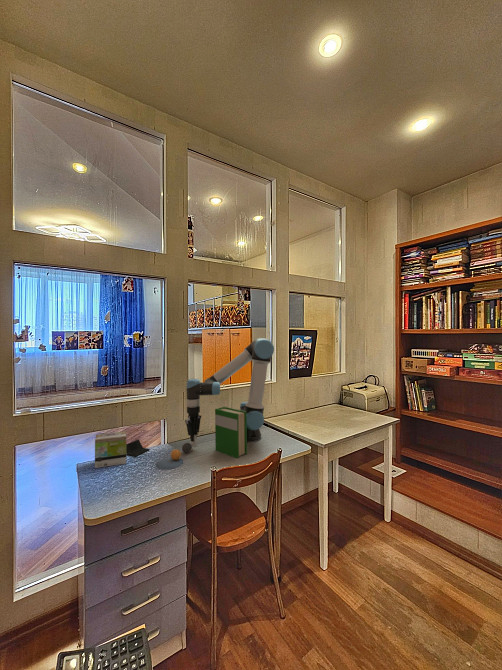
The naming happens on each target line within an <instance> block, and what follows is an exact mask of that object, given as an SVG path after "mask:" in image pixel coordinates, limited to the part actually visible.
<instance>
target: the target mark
mask: <svg viewBox="0 0 502 670" xmlns="http://www.w3.org/2000/svg"><path fill="white" fill-rule="evenodd" d="M183 464H184V460H183V459H182V458H181V457H180V458H179V459H178V460H173V459H172V458H171V457H166V458H162V459H160V460H158V461H156V463H155V467H156V468H157V469H159V470H174V469H176V468H179V467H181V466H183Z"/></svg>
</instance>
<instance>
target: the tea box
mask: <svg viewBox="0 0 502 670" xmlns="http://www.w3.org/2000/svg"><path fill="white" fill-rule="evenodd" d="M126 444H127V430H126V431H124V430H123V431H115V432H107V433H98V434H96V435H95V439H94V468H95V469H99V468H105V467H112V466H118V465H126V464H127V451H126Z"/></svg>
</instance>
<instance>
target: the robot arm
mask: <svg viewBox="0 0 502 670" xmlns="http://www.w3.org/2000/svg"><path fill="white" fill-rule="evenodd" d="M274 353H275V346H274V344H273V342H272V341H271V340H270V339H268V338H263V337H260V338H259V337H258V338H255V339H254V340H253V341H252V342H250V343H249V345H247V346H246V347H245V348H244V349H243V351H242V352H241V353H239V354H238V355H237V356H235V357H234V358H233V359H232V360H231V361H229V362H228V363H227V364H225V365H224V366H222V367H221V368H220V369H219V370H218V371H216V372H215V373H213V375H211V376H210V377H208V378H206V379H205V380H204V382H201V381H200V379H198V378H190V379H188V380H187V381H186V387H185V388H186V413H187V414H188V416H187V419H185V421H184V422H185V424H186V430H187V435H188V436H190V444H191V446H192V448H196V447H197V436H198V435H199V433H200V427H201V419H202V415H200V412H201V406H200V405H201V396H216V395H220V394H221V385H222V384H223V383H224V382H225V381H227V380H228V379H229V378H230V377H231V376H233V375H235V373H237V372H238V371H239V370H241V369H243V367H245V366H247V364H249V363H250V362H252V363H253V364H252V371H251V379H250V386H249V392H248V400H247V401H243V402H240V404H239V410H242V411H246V417H247V443H248V442H249V443H250V442H251V443H252V442H256V441H257V442H258V441H260V440H261V439H262V433H261V430H260V428H262V427H263V425H264V423H265V416H264V411H265V406H264V405H263V399H264V393H265V386H266V378H267V372H268V365H269V364H271V360H272V356H273V354H274Z"/></svg>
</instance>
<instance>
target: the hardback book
mask: <svg viewBox="0 0 502 670" xmlns="http://www.w3.org/2000/svg"><path fill="white" fill-rule="evenodd" d="M214 412H215V413H214V416H215V417H214V421H215V422H214V426H215V432H214V433H215V435H214V437H215V441H214V442H215V451H216V452H219V453H221V454H224V455H226V456H229V457H232V458H235V459H237V460H238V459H239V458H240V457H241V456H243V455H244V456H246V455H248V446H247V445H248V442H247V417H246V411H242V410H240V409H235V408H232V407H227V406H222V407H218V408H215V409H214Z"/></svg>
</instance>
